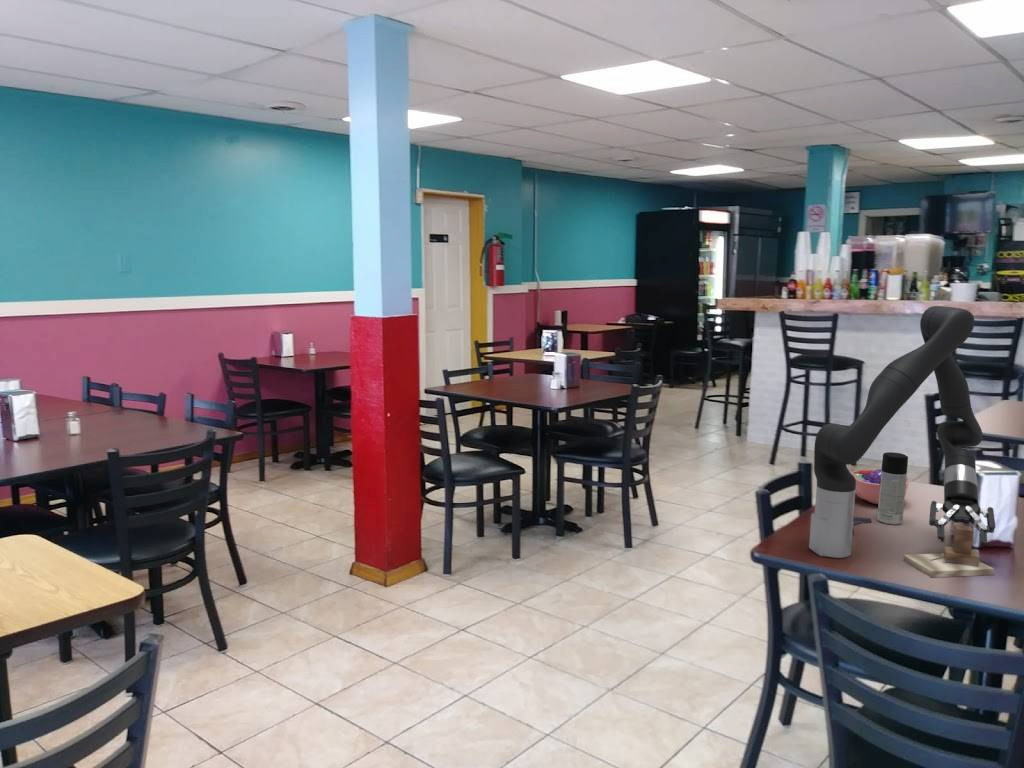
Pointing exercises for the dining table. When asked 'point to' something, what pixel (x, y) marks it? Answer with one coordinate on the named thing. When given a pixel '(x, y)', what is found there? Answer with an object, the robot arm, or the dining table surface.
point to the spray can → (892, 488)
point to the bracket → (860, 521)
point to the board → (945, 566)
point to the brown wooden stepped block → (962, 548)
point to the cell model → (870, 484)
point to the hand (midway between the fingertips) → (962, 543)
